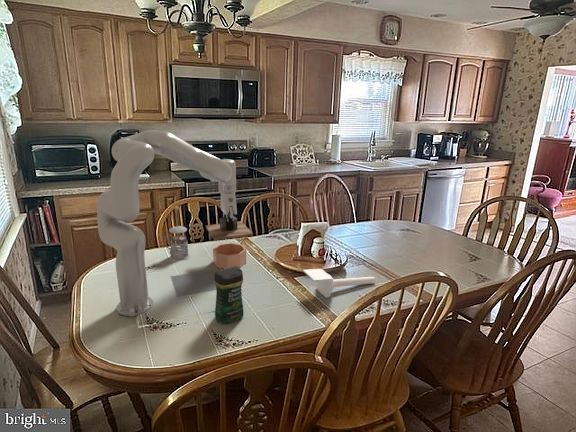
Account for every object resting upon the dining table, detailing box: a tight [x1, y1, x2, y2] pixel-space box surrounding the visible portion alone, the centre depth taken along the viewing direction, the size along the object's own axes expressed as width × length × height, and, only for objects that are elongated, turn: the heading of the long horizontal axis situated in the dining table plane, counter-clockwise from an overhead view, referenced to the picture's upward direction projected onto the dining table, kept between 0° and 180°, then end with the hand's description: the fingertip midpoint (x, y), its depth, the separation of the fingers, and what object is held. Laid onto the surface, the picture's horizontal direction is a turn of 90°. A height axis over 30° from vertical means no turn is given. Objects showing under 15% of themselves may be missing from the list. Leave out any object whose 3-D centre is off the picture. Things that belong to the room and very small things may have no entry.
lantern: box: [163, 206, 192, 262], centre depth 178 cm, size 10×12×25 cm
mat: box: [170, 269, 217, 298], centre depth 157 cm, size 18×18×1 cm
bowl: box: [212, 242, 247, 269], centre depth 176 cm, size 14×14×7 cm
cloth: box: [205, 216, 254, 241], centre depth 171 cm, size 17×17×6 cm
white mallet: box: [302, 268, 377, 299], centre depth 155 cm, size 9×9×32 cm
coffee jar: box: [214, 266, 245, 325], centre depth 132 cm, size 10×8×19 cm
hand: (228, 227), depth 171 cm, fingers closed on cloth, 3 cm apart
